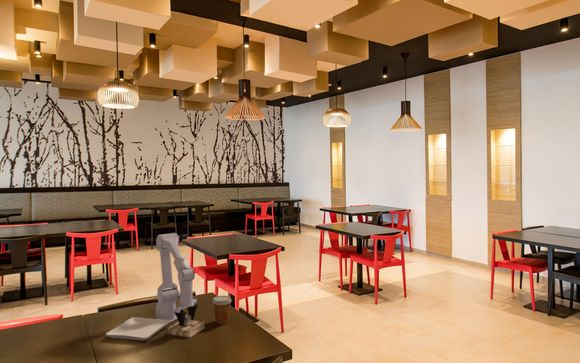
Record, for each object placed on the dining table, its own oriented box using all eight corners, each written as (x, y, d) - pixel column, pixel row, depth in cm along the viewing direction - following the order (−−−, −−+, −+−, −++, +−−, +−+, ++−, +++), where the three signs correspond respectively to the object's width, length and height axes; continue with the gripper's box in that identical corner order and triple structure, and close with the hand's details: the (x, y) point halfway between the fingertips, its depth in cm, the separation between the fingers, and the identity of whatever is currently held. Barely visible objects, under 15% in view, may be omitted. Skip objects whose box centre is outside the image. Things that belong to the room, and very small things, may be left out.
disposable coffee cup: (233, 318, 201) (233, 295, 201) (228, 325, 192) (228, 301, 192) (215, 318, 202) (215, 295, 202) (210, 325, 193) (209, 300, 193)
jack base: (168, 334, 182) (168, 326, 182) (183, 324, 193) (183, 317, 193) (190, 337, 178) (189, 330, 178) (204, 328, 189) (204, 320, 189)
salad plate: (147, 344, 172) (147, 337, 171) (104, 341, 176) (104, 333, 176) (171, 326, 192) (171, 319, 192) (132, 323, 197) (132, 316, 196)
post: (182, 331, 185) (181, 316, 185) (185, 329, 188) (185, 314, 187) (187, 332, 184) (187, 317, 184) (191, 329, 187) (191, 315, 186)
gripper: (184, 299, 177) (184, 329, 177) (202, 290, 191) (202, 318, 191) (171, 298, 180) (171, 327, 180) (189, 289, 193) (190, 316, 193)
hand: (186, 322), depth 186 cm, fingers open, 7 cm apart
